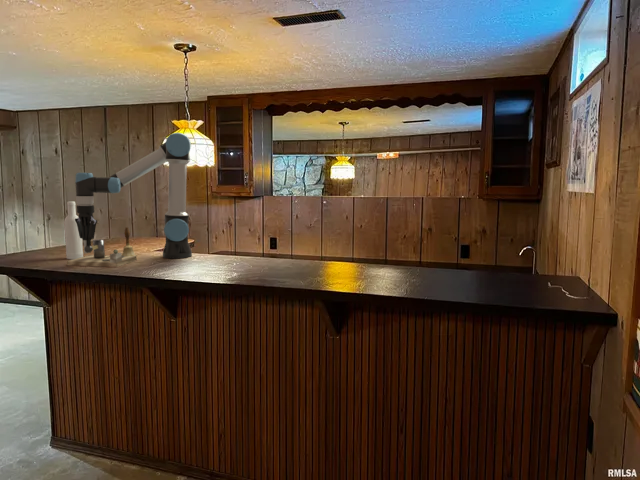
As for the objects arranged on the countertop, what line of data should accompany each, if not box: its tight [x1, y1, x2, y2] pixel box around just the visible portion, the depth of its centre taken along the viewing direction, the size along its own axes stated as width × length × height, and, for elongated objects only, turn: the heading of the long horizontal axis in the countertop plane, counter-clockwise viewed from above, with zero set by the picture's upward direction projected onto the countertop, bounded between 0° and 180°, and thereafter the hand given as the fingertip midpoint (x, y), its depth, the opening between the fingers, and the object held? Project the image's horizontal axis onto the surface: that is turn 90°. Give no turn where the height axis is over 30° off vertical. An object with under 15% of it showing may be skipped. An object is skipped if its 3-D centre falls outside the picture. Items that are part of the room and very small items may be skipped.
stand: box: [66, 249, 137, 268], centre depth 227 cm, size 26×18×8 cm
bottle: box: [63, 200, 84, 260], centre depth 238 cm, size 8×8×30 cm
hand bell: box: [121, 226, 138, 257], centre depth 245 cm, size 8×8×16 cm
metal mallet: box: [83, 238, 106, 258], centre depth 224 cm, size 15×5×9 cm, turn 1°
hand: (87, 252), depth 222 cm, fingers closed
